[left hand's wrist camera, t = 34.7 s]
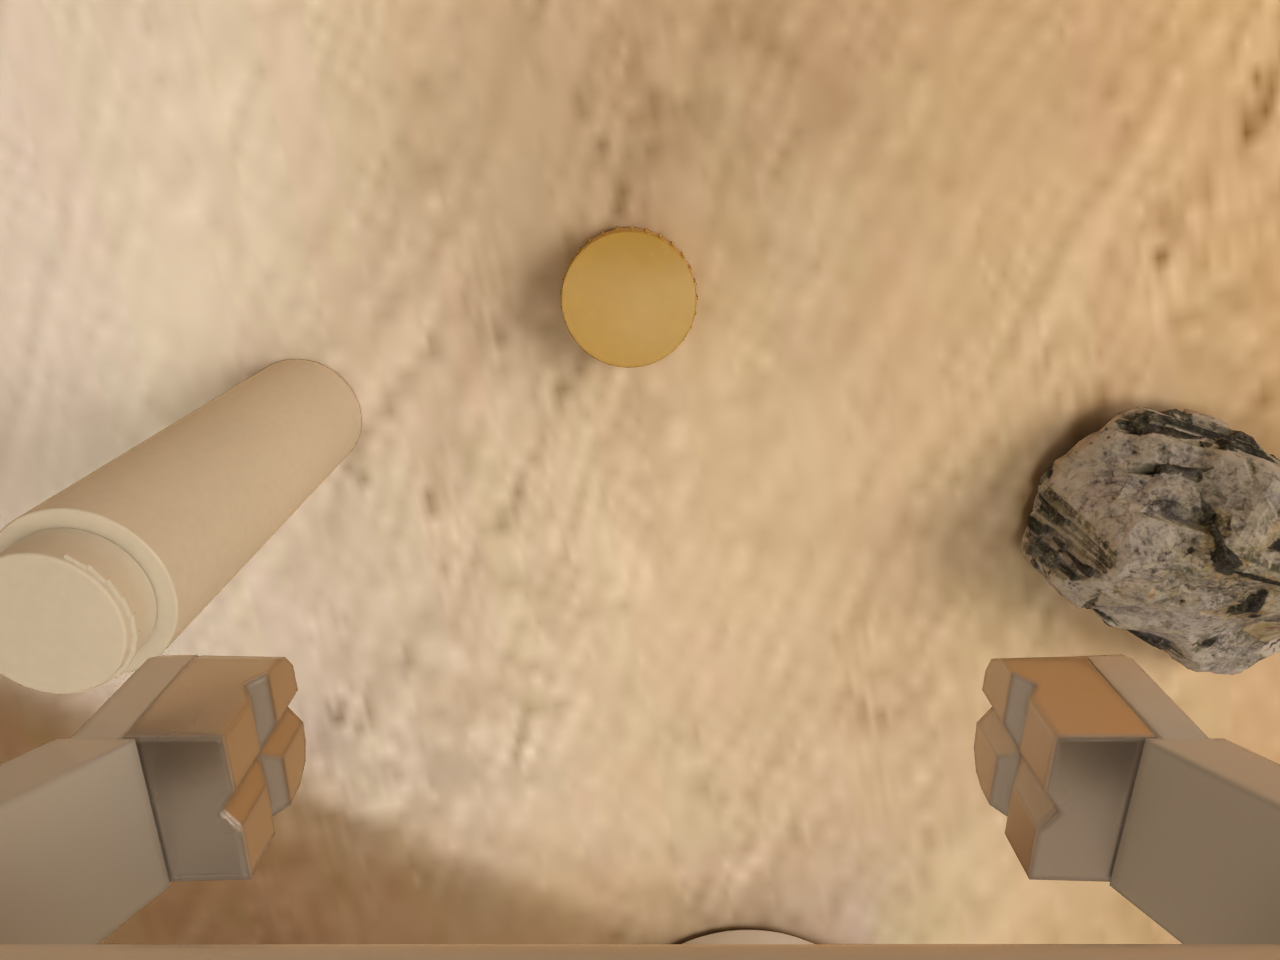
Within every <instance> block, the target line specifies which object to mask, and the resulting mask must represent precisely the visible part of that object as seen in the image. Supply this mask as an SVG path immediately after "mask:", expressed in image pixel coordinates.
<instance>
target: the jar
mask: <svg viewBox="0 0 1280 960" xmlns="http://www.w3.org/2000/svg"><path fill="white" fill-rule="evenodd" d="M360 430H361V413H360V408H359V404H358V402H357V399H356V397H355V395H354V393H353V392H352V390H351V389H350V387H349V386H348V384H347V383H346V382H345V381H344V380H343V379H342V378H341V377H340V376H339V375H337V374H336V373H335V372H333V371H332V370H330V369H329V368H327V367H325V366H323V365H321V364H318V363H316V362H312V361H308V360H301V359H290V360H283V361H280V362H277V363H274V364H272V365H270V366H268V367H267V368H265V369H263V370H262V371H260V372H258V373H257V374H255V375H253V376H252V377H250V378H248V379H247V380H245V381H243V382H242V383H240V384H238V385H237V386H235V387H234V388H232V389H230V390H229V391H227V392H225V393H224V394H222V395H220V396H219V397H217V398H215V399H214V400H212V401H210V402H209V403H207V404H205V405H204V406H202V407H200V408H199V409H197V410H195V411H194V412H192V413H190V414H189V415H187V416H185V417H184V418H182V419H180V420H179V421H177V422H175V423H174V424H172V425H171V426H169V427H167V428H166V429H164V430H162V431H161V432H159V433H157V434H156V435H154V436H152V437H151V438H149V439H147V440H146V441H144V442H142V443H141V444H139V445H137V446H136V447H134V448H132V449H131V450H129V451H127V452H126V453H124V454H122V455H121V456H119V457H117V458H116V459H114V460H112V461H111V462H109V463H108V464H106V465H104V466H103V467H101V468H99V469H98V470H96V471H94V472H93V473H91V474H89V475H88V476H86V477H84V478H83V479H81V480H79V481H78V482H76V483H74V484H73V485H71V486H69V487H68V488H66V489H64V490H63V491H61V492H59V493H58V494H56V495H54V496H53V497H51V498H49V499H48V500H46V501H45V502H43V503H41V504H40V505H38V506H36V507H35V508H33V509H31V510H30V511H28V512H26V513H25V514H23V515H21V516H20V517H18V518H16V519H15V520H13V521H12V522H10V523H9V524H8V525H7V526H6V527H4V528H3V529H2V530H1V531H0V673H1V674H2V675H4V676H5V677H7V678H8V679H10V680H12V681H14V682H16V683H18V684H20V685H22V686H25V687H27V688H30V689H33V690H37V691H41V692H46V693H54V694H72V693H79V692H83V691H87V690H90V689H92V688H95V687H97V686H99V685H101V684H103V683H105V682H107V681H109V680H111V679H113V678H116V677H117V676H118V675H121V674H125V673H129V672H133V671H135V670H137V669H138V668H139V667H140V666H141V665H142V664H143V663H144V662H145V661H146V660H147V659H148V658H151V657H156V656H160V655H161V654H162V653H163V652H164V651H165V650H166V649H167V648H168V646H169V645H170V644H171V643H172V642H173V641H174V640H175V639H176V638H177V637H178V636H179V635H180V634H181V633H182V631H183V630H184V629H185V628H186V627H187V626H188V625H189V624H190V623H191V622H192V621H193V620H194V619H195V618H196V617H197V615H198V614H199V613H200V612H201V611H202V610H203V609H204V608H205V607H206V606H207V605H208V604H209V603H210V602H211V601H212V599H213V598H214V597H215V596H216V595H217V594H218V593H219V592H220V591H221V590H222V589H223V588H224V587H225V586H226V584H227V583H228V582H229V581H230V580H231V579H232V578H233V577H234V576H235V575H236V574H237V573H238V572H239V571H240V570H241V568H242V567H243V566H244V565H245V564H246V563H247V562H248V561H249V560H250V559H251V558H252V557H253V556H254V555H255V554H256V552H257V551H258V550H259V549H260V548H261V547H262V546H263V545H264V544H265V543H266V542H267V541H268V540H269V539H270V537H271V536H272V535H273V534H274V533H275V532H276V531H277V530H278V529H279V528H280V527H281V526H282V525H283V524H284V523H285V521H286V520H287V519H288V518H289V517H290V516H291V515H292V514H293V513H294V512H295V511H296V510H297V509H298V508H299V506H300V505H301V504H302V503H303V502H304V501H305V500H306V499H307V498H308V497H309V496H310V495H311V494H312V493H313V492H314V490H315V489H316V488H317V487H318V486H319V485H320V484H321V483H322V482H323V481H324V480H325V479H326V478H327V477H328V476H329V474H330V473H331V472H332V471H333V470H334V469H335V468H336V467H337V466H338V465H339V464H340V463H341V462H342V461H343V459H344V458H345V457H346V456H347V455H348V454H349V453H350V452H351V451H352V449H353V448H354V446H355V445H356V443H357V440H358V438H359V435H360Z"/></svg>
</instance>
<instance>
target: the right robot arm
mask: <svg viewBox="0 0 1280 960" xmlns="http://www.w3.org/2000/svg"><path fill="white" fill-rule="evenodd" d="M682 944H814V943H811V942H809V941H806V940H804V939H801V938H798V937H795V936H792V935H788V934H784V933H779V932H773V931H766V930H731V931H724V932H718V933H713V934H708V935H705V936H701V937H698V938H695V939H692V940H690V941H687V942H685V943H682Z"/></svg>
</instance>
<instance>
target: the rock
mask: <svg viewBox="0 0 1280 960" xmlns="http://www.w3.org/2000/svg"><path fill="white" fill-rule="evenodd" d="M1021 552H1022V554H1023V556H1024V557H1025V558H1026V560H1027V561H1028V562H1029V563H1030V564H1031V565H1032V566H1033V567H1034V568H1035V569H1036V570H1038V571H1039V572H1040V573H1042V574H1043V575H1044V577H1045V578H1046V580H1047V581H1048V583H1049V584H1050V585H1051V586H1052V587H1053V588H1054V589H1055V590H1056V591H1057V592H1059V593H1060V595H1061V596H1063V597H1064V598H1065V599H1067V600H1068V601H1069V602H1071V603H1072V604H1073V605H1075V606H1076V607H1077V608H1082V607H1085V608H1086V609H1093V610H1094V611H1095V612H1096V614H1097V615H1098V616H1099V617H1100V618H1101V619H1102V620H1103V621H1104V623H1106V624H1107V625H1108V626H1110V627H1115V628H1121V629H1126V630H1128V631H1129V632H1131V633H1132V634H1134V635H1136V636H1137V637H1139V638H1140V639H1142V640H1144V641H1145V642H1147V643H1149V644H1150V645H1152V646H1154V647H1157V648H1159V649H1163V650H1164V651H1166V652H1167V653H1168V654H1169V655H1170V656H1171V657H1172V659H1174V660H1176V661H1177V662H1179V663H1181V664H1182V665H1183V666H1185V667H1186V668H1187V669H1190V670H1193V671H1195V672H1212V673H1215V674H1230V675H1234V674H1238V673H1241V672H1243V671H1244V670H1246V669H1248V668H1249V667H1251V666H1252V665H1254V664H1255V663H1256V662H1258V661H1259V660H1262V659H1264V658H1266V657H1269V656H1271V655H1273V654H1275V653H1278V652H1279V651H1280V460H1278V459H1277V458H1276V457H1275V456H1274V455H1270V454H1268V453H1267V452H1266V451H1265V450H1264V449H1262V448H1261V447H1260V446H1259V445H1258V444H1257V443H1256V441H1255V440H1254V439H1253V437H1251V436H1249V435H1247V434H1245V433H1243V432H1241V431H1233V430H1231V429H1229V427H1228V425H1227V424H1226V423H1224V422H1222V421H1220V420H1217V419H1215V418H1213V417H1210V416H1207V415H1203V414H1200V413H1198V412H1196V411H1191V410H1186V409H1184V411H1183V413H1182V412H1181V411H1179V410H1177V409H1173V410H1168V411H1164V412H1158V411H1155V410H1152V409H1148V408H1144V407H1137V408H1134V409H1131V410H1127V411H1124V412H1121V413H1118V414H1117V415H1116V416H1115V417H1114V418H1112V419H1111V420H1110V421H1109V422H1108V423H1107V424H1106V425H1105V426H1104V427H1103V428H1101V429H1100V430H1099V431H1098V432H1094V433H1091V434H1090V435H1088V436H1087V437H1085V438H1084V439H1082V440H1081V441H1079V442H1078V443H1077V444H1076V445H1075V446H1074V447H1073V448H1072V449H1071V450H1070V451H1069V452H1068V453H1067V454H1065V455H1063V456H1062V457H1060V458H1058V459H1056V460H1055V461H1054V462H1053V463H1052V464H1051V466H1050V467H1049V468H1048V469H1047V470H1046V471H1045V472H1044V474H1043V475H1042V476H1041V478H1040V481H1039V484H1038V493H1037V495H1036V497H1035V500H1034V505H1033V509H1032V510H1031V512H1030V514H1029V517H1028V526H1027V528H1026V530H1025V532H1024V535H1023V537H1022V543H1021Z"/></svg>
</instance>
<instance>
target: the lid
mask: <svg viewBox="0 0 1280 960" xmlns="http://www.w3.org/2000/svg"><path fill="white" fill-rule="evenodd" d="M684 258H685V257H684V254H683V253H682V252H681V253H680V252H679V251H678V249H677V248H676V247H675V246H674V243H673V242H672V241H671V242H669V241H668V240H666V239H665V238H663V237H662V235H661V234H660V233H659V234H656V233H654V232H651V231H648V228H645V229H640V228H633V226H631V228H619V227H616V229H613V230H610V231H607V232H605V231H602V233H601V234H600V235H598V236H597V237H595V238H593V239H592V238H590V239H589V241H588V243H587V244H586V245H585V246H584V247H583V248H581V247H580V248H579V249H578V251H577V255H576V257H575V258H574V260H572V259H571V261H570V263H569V266H570V267H569V269H568V271H567V273H565V275H564V277H563V280H564V282H563V287H562V290H561V292H560V294H562V296H561V302H562V306H561V309H562V311H563V316H564V319H565V323H566V325H567V327H568V329H569V332H570V333H571V335H572V336H573V338H574V340H575V341H576V342H577V343H578V344H579V346H580V347H581V348H582V349H584V350H585V351H586V352H587V353H588V354H590V355H591V356H592V357H594V358H596V359H598V360H600V361H602V362H604V363H607V364H609V365H614V366H618V367H640V366H645V365H649V364H652V363H654V362H657V361H659V360H661V359H662V358H664V357H666V356H667V355H669V354H670V353H671V352H673V351H674V350H675V349H676V348H677V347H678V346H679V345H680V344H681V342H682V341H683V340H684V338H685V337H686V335H687V333H688V332H689V330H690V329H691V327H692V326H691V325H692V323H693V319H694V316H695V315H696V300H698V297H697V294H696V289H695V285H696V281H695V279H694V278H693V277H692V274H691V272H690V271H692V269H691V266H690V264H689V265H688V264H687V263H686V261H685V259H684Z"/></svg>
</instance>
